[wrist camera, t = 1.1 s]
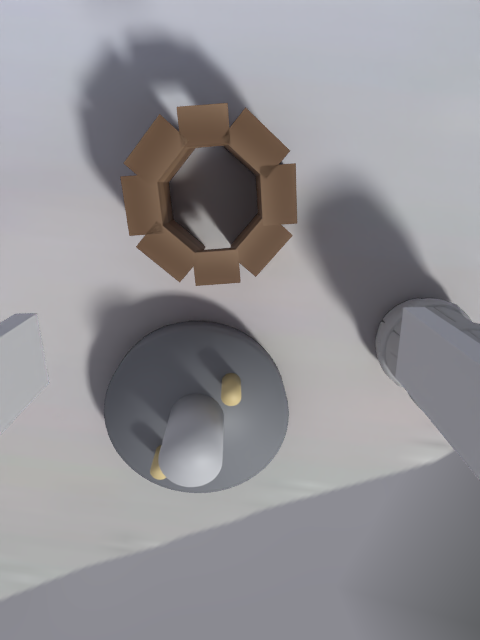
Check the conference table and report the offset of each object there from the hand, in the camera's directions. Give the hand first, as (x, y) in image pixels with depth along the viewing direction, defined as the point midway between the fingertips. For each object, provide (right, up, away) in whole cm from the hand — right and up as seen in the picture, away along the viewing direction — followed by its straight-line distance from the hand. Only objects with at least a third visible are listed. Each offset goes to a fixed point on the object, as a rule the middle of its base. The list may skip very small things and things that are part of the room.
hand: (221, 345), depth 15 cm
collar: (-1, +10, +16) cm, 19 cm away
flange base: (-3, -6, +21) cm, 22 cm away
